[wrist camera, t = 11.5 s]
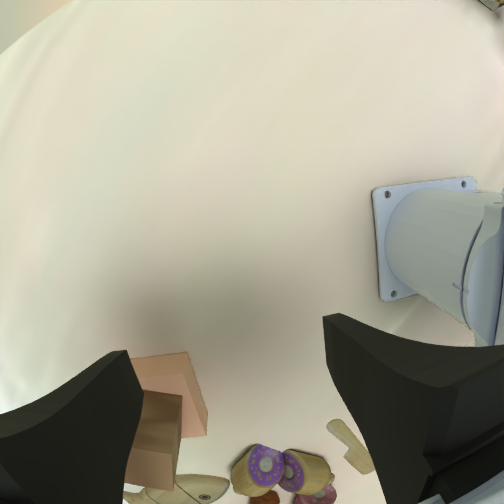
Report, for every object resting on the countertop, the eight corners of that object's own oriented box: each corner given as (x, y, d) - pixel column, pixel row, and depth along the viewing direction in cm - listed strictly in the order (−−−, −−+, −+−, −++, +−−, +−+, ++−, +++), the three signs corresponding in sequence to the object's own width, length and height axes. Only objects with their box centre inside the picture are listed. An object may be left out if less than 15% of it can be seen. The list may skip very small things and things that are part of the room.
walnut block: (182, 395, 19) (171, 454, 14) (181, 434, 20) (173, 491, 15) (124, 385, 19) (100, 440, 14) (128, 425, 20) (111, 479, 14)
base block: (187, 349, 22) (182, 373, 19) (207, 410, 23) (206, 435, 20) (113, 358, 22) (101, 380, 19) (139, 416, 23) (132, 440, 20)
